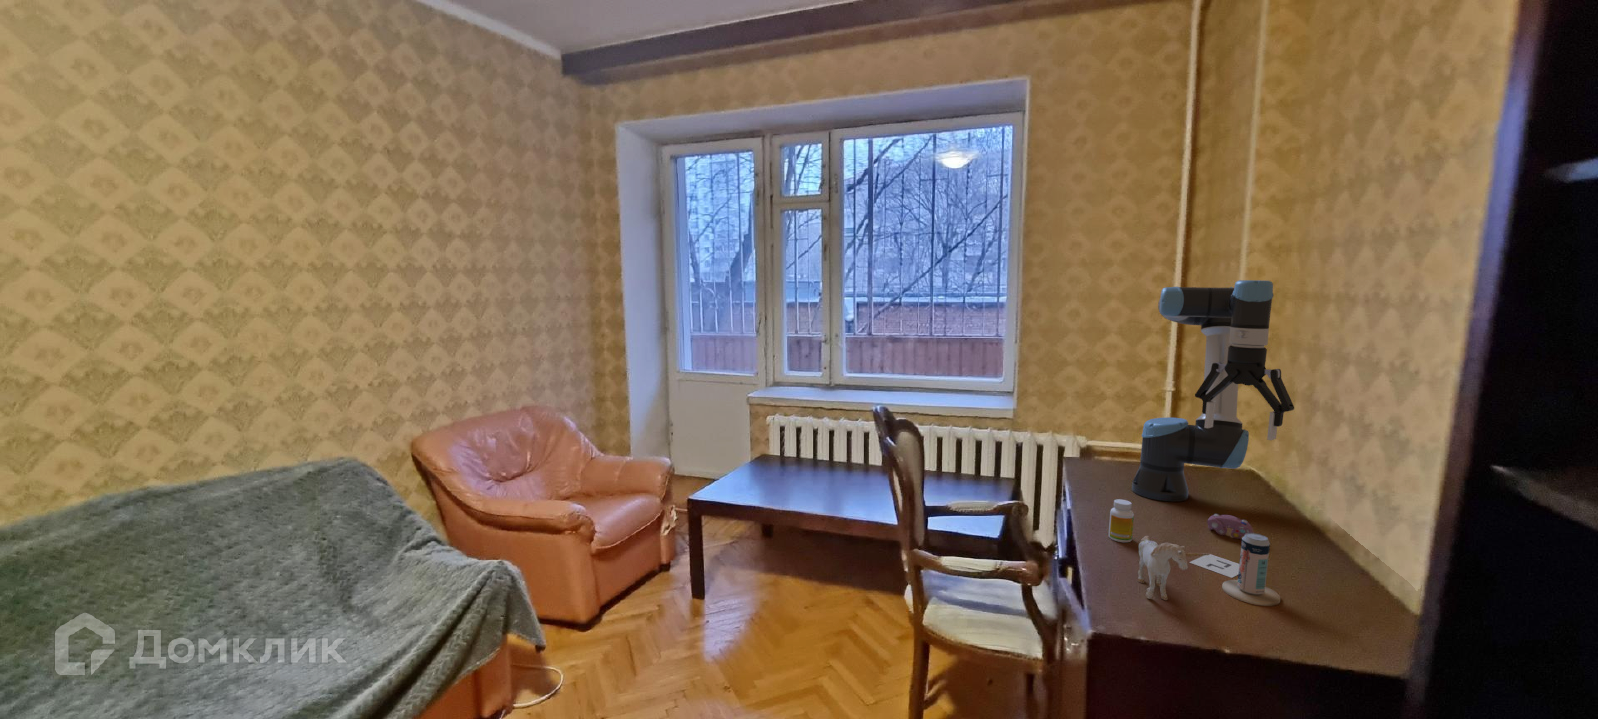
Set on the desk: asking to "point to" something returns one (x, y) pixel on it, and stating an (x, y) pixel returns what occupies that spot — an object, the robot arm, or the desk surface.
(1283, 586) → the desk surface
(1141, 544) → the unicorn figurine
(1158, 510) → the desk surface
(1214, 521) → the video game controller
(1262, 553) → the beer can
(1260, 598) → the cork coaster
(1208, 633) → the desk surface
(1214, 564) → the tile
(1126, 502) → the supplement bottle
